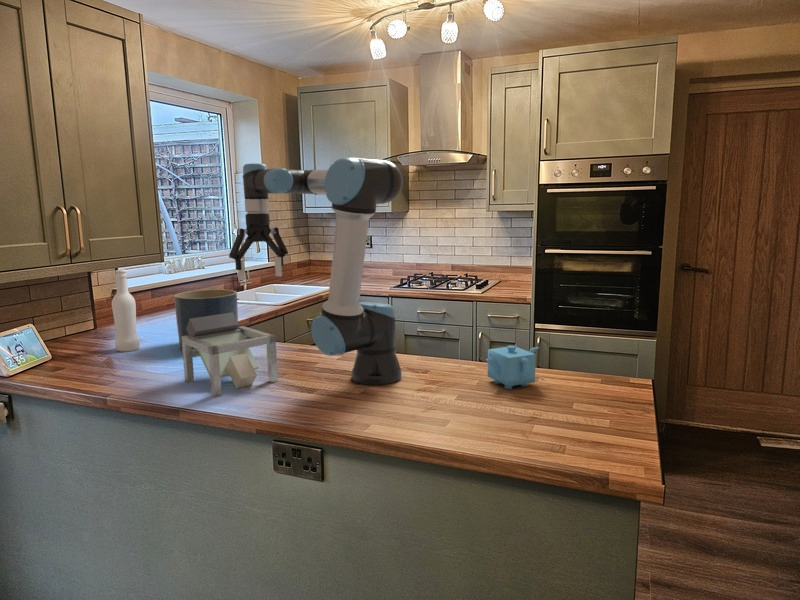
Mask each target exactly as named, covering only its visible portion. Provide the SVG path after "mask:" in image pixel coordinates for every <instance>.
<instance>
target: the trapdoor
mask: <svg viewBox="0 0 800 600" xmlns="http://www.w3.org/2000/svg"><path fill="white" fill-rule="evenodd" d="M238 327H240V323H239V320H238V321H237V319H236V317H235V315H234V314H233V312H232V313H225V314H218V315H211V316H205V317H198V318H191V319H189V322H188V325H187V328H186V330H187V332H188V334H189V336H191V337H194V338H197V339H199V340H202V341H205V342H207V343H210V344H212V345H220V344H225V343H231V342H236V341H241V340H245V339H244V337H243V335H242V333H241V330H240V329H237V328H238ZM197 350H198V349H197ZM198 352H199V354H200V356H199V357H200V359H201V361H202V363H203V365H204V368H205V369H206V372H207V373H208V375H209V377H210V366H209V354H208V353H205V352H203V351H201V350H198ZM241 354H247V356H248V358H249V360H250V362H251V364H252V366H253V368H254V370H258V369H259V367H260V366H259V365H258V362H257V361H256V358H255V357H254V354H253V353H252V351H251V349H250V348H245V349H240V350H235V351H230V352H225V353H220V354H219V364H220V379H221V378H224V377H228V376H229V377H230V375H229V372H228V370H227V368H226V365H227V363H228V361H229V358H230V357H231V356H236V355H241Z"/></svg>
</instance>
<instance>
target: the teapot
mask: <svg viewBox="0 0 800 600" xmlns="http://www.w3.org/2000/svg"><path fill="white" fill-rule="evenodd" d="M539 348H540V347H539V346H535V347H532V348H530V350H529V351H528V350H526V349H523V348H520V347H518V346H516V345H507V346H505V347H496V348H488V349H487V358H485V361H486V363H487V377H489V378H491V379H492V380H493V384H502V385H504V389H506V390H512V389H513V386H519V385H520V386H521V387H529V384H532V383H535V382H536V364H537V363H536V361H537V360H536V359H537V358H536V357H537V355H536V353H535V352H536V351H537V350H538V349H539Z"/></svg>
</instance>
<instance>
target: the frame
mask: <svg viewBox="0 0 800 600" xmlns="http://www.w3.org/2000/svg"><path fill="white" fill-rule="evenodd" d="M237 329H240V330H241V333H242V335H243V337H244V339H245V340H241V341H236V342H231V343H225V344H220V345H212V344H210V343H207V342H205V341H202V340H199V339H197V338H194V337H191V336H189V335H187V336H181V337H182V349H183V351H182V360H183V372H184V382H185V383H187V384H189V383H194V382H195V373H194V362H193V360H194V359H193V358H196V357H200V354H199V352H198V350H201V351H203V352H205V353H208V354H209V366H210V376H209V377H210V390H211V391H210V392H211V396H212V397H214V398H217V397H221V396H222V382H221V381H222V380H221V378H220V364H219V354H220V353H225V352H230V351H235V350H240V349H245V348H249V349H250V348H254V347H259V346H264V345H266V359H267V376H268V382H270V383H276V382H278V380H279V376H278V362H277V361H278V359H277V357H278V356H277V339H276V335H274V334H270V333H268V332H264V331H261V330H258V329H254V328H251V327H248V326H244V325H241V326H240V325H239V326H238V328H237ZM247 337H249V338H248V339H247ZM192 347H193V348H196V349H192ZM197 349H198V350H197Z"/></svg>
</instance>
